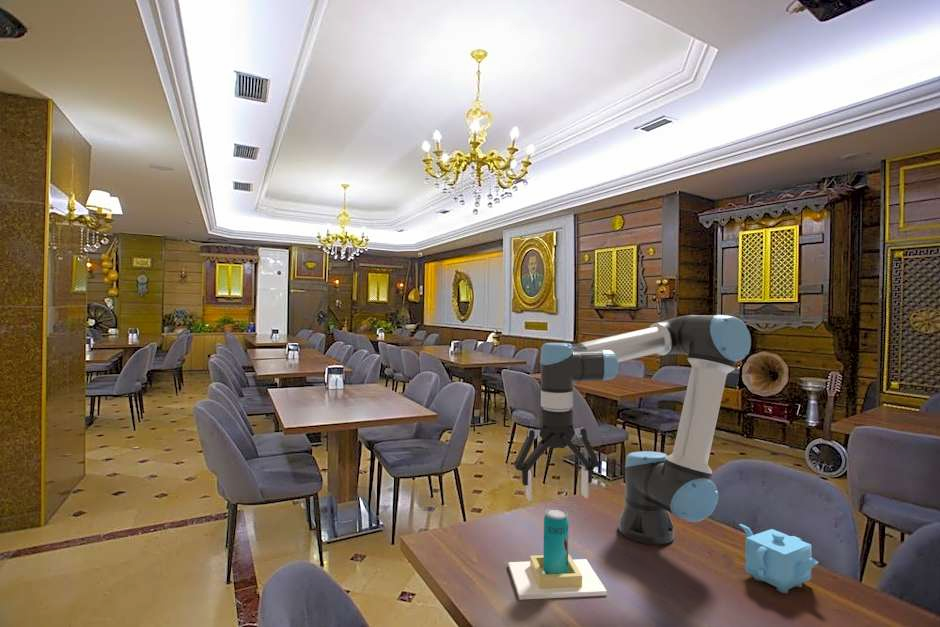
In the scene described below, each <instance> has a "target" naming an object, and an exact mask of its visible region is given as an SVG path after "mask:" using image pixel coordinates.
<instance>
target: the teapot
mask: <svg viewBox="0 0 940 627" xmlns="http://www.w3.org/2000/svg"><path fill="white" fill-rule="evenodd" d="M738 525H739V526H740V527H741V528H742V529H743V530H744V533H745V535H746V537H745V550H744V551H745V557H744V560H745V562H744V563H745V566H744V572H745V573H747V574H749V575H750V576H751V575H752V576H753V579H754V578H755V579H754V580H756V581H758V580H759V582H765V583H767V584H769V585H771V586H773V587H775V588H776V590H777V591H778V592H779V593H783V594H788V593H789V592H790V591H789V590H791V589H793V588H795V587H798V588H802V587H803V584H804V583H805V582H806V583H807V582H808V581H810V580H812V569H813V568H814V567H816V566H817V565H818V564H819V561H818V560H816V559H815V558H813V557H812V544H811V543H808V542H806V541H804V540H802V538H800V537H797V536H795V535H791V536H790V535H788V534H786V533H783V532H781V531H778V530H776V529H773V528H771V529H767V530H765V531H761V532H759V533H755V534H753V532H752V530H751V528H750V527H748V526H747V525H745V524H742V523H739V524H738Z"/></svg>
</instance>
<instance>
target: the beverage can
mask: <svg viewBox="0 0 940 627" xmlns="http://www.w3.org/2000/svg"><path fill="white" fill-rule="evenodd" d="M544 513H545V515H544V517H543V555H544V561H543V568H544V571H545V574H546V575H547V574H567V572H568V554H569V518H568V512H567V511H566V510H563V509H560V508H549V509H547V510H545V512H544Z"/></svg>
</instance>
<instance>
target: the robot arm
mask: <svg viewBox="0 0 940 627" xmlns="http://www.w3.org/2000/svg"><path fill="white" fill-rule="evenodd" d="M750 333H751V332H750V331H749V329H748V328H747V325H746V324H745V322H743V320H742V319H740V318H738V317H736V316H733V315H723V314H708V315H707V314H701V315H700V314H687V315H682V316H678V317H674V318H669V319H666V320H663V321H659V322H654V323H652V324H650V326H649V327H648V328H643V329H638V330H633V331H629V332H624V333H619V334H615V335H610V336H606V337H601V338H597V339H593V340H588V341H584V342H583V341H582V342H580V343H574V344H573V343H569V342H545V343H543V344H542V346H541V347H540V360H539V364H540V407H541V409H540V428H539V429H533V428H532V427H528V428H527V432H526V438H525V440H524V442H523V445H522V446H521V448H520V450H519V452H518V454H517V457H516V458H515V461H514V463H513V466H514V468H515V469H516V471H521V483H522V485H523V486H525V497H526V498H527V501H529V502H531V501H532V500H533V499H532V498H533V497H532V494H533V493H532V491H533V489H532V487H533V486H532V471H531V468H532V467H533V466H534V465H535V464H536V462H537V461H538V460H539V458H540V457H542V455H543V453H544V452H546V451H548V449H549V448H551V449H565V448H566V447H568V448H569V449H570V451H571V452H572V453H573V454H574V456H576V457H577V459H578V460H579V461H580V462H581V463H582V464H583V465H584V466H581V469H580V470H581V471H580V472H581V473H580V474H581V475H580V477H581V482H580V484H581V486H580V487H581V489H580V490H581V491H580V492H581V496H583V498H585V499H589V484H592V482H593V471H594V470H595V468H599V467H600V466H601V463H600V462H599V459H598V457H597V455H596V453H595V451H594V448H593V447H592V445H591V443H590V441H589V439H588V433H587V430H586V428H584V427H583V426H578V428H577V427H576V428H574V411H573V409H572V408H573V407H574V398H573V397H574V393H573V392H574V391H573V388H574V387H573V386H574V383H580V382H581V383H583V382H598V381H599V382H604V381H610V380H614V378H616V376H617V375H618V372H619V363H620V362H626V361H629V360H634V359H638V358H642V357H645V356H646V357H648V356H650V355H655V354H656V355H659V356H666V355H686V356H687V359H686V360H687V361H688V362H689V364H690V365H691V369H690V374H689V378H688V381H687V382H688V383H687V387H686V392H685V396H684V402H683V405H682V410H681V414H680V418H679V419H680V420H679V423H678V428H677V432H676V437H675V441H674V446H673V450H672V453H671V454H669V455H668V454H666V453H664V452H660V451H659V452H658V451H648V450H647V451H645V450H642V451H634V452H633V451H632V452H630V453H628V454H627V455H626V457H625V465H624V469H625V470H624V472H625V474H624V477H625V478H624V480H625V482H624V484H625V486H624V487H625V488H624V489H625V490H624V492H625V496H624V497H625V499H624V500H625V501H624V506H623V507H622V508H623V509H622V510H621V513H620V516H619V520H618V530H619V533H620V534H621V535H623V537H625V538H627V539H629V540H632V541H634V542H637V543H641V544H646V545H661V546H662V545H667V544H669V543H671V542H673V541H674V539H675V527H674V524H673V522H672V518H671V515H670V513H671V514H672V515H673V516H675V517H677V518H679V519H682V520H684V521H686V522H689V523H690V522H691V523H698V522H702V521H703V520H705V519H706V518H707V517H710V516H711V514H712V513H713V512H714V510H715V509H716V507H717V504H718V500H719V491H718V488H717V486H716V484H715V483H714V482H713V481H712V477H713V470H712V469H711V467H710V466H709V463H708V462H709V458H710V454H711V450H712V446H713V445H712V444H713V440H714V435H715V430H716V428H717V427H716V426H717V421H718V418H719V417H718V416H719V412H720V408H721V403H722V398H723V394H724V390H725V386H726V382H727V381H726V379H727V376H728V374H730V373H731V372H733V371H735V369H736V365H737V362H739V361H742V360H744V359H745V358H746V356H748V355H749V353H750V351H751V347H752V339H751V334H750ZM575 435H576V437H577V438H579V439H580V441H581V445H582V446H583V448H584V450H585V452H586V454H587V455H588V456H587V457H588V458H589V460H590V461H589V460H588V459H587V458H586V457H585V456H584V455H583V453H581V450H579V448H577V446H576V445H575V444H574V443H573V441H572V439H573V438H574V437H575ZM538 436H539V437H540V439H541V440H540V441H539V442H538V444H537V446H536V447H535V448H534V449H533V451H532V452H531V453H530V455H529V456H528V454H529V452H530V450H531V449H532V448H531V447H532V446H533V444H534V441H535V440H537V438H538ZM527 456H528V457H527Z"/></svg>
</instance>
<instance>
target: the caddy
mask: <svg viewBox="0 0 940 627" xmlns="http://www.w3.org/2000/svg"><path fill="white" fill-rule="evenodd" d="M529 557H530V558H529V561H509V562H508V564H507V565H508V566H507V567H508V569H509V572H510V576H511V579H512V581H513V584H514V587H515V590H516V594H517V597H518V600H520V601H521V600H538V599H539V600H542V599H543V600H544V599H561V598H564V599H565V598H581V597H599V596H601V597H602V596H603V597H604V596H608V591H607V589H606V587H605V586H604V583H602V581H601V579H600V578H599V577H598V575H597V573H596V572H595V571H594V569H593V568H592V565H591V564H590V562H589V561H588V560H587V558H579V559H576V558H575V559H573V558H572V556H571V555H570V554H569V553H568V572H567V574H547V575H546V574H545V571H544V568H543V561H544V554H541V555H538V554H537V555H529Z"/></svg>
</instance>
